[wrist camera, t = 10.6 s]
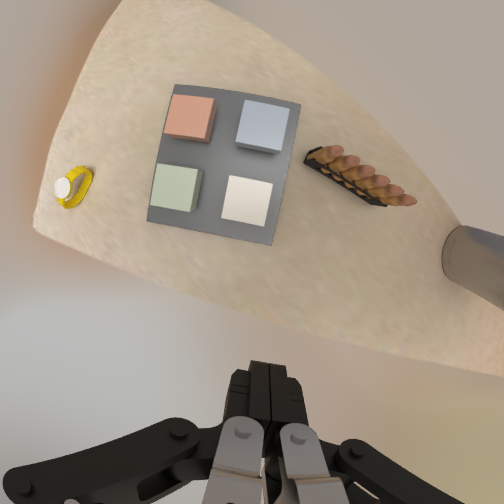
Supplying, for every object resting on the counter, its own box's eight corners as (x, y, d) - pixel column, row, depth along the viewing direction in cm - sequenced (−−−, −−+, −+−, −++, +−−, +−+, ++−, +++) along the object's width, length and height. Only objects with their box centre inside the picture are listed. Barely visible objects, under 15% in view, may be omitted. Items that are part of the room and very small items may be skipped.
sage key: (203, 171, 32) (197, 169, 29) (195, 209, 33) (189, 212, 30) (166, 165, 32) (157, 163, 28) (159, 202, 33) (150, 204, 29)
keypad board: (299, 107, 32) (305, 98, 28) (270, 243, 36) (273, 250, 32) (177, 87, 31) (169, 77, 28) (149, 220, 35) (138, 224, 32)
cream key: (270, 184, 32) (273, 183, 29) (262, 222, 33) (264, 226, 30) (231, 176, 32) (229, 175, 29) (224, 214, 33) (220, 217, 30)
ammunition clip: (302, 162, 34) (327, 152, 22) (309, 150, 34) (337, 134, 22) (371, 204, 35) (419, 215, 23) (377, 193, 35) (426, 198, 23)
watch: (88, 164, 34) (66, 160, 28) (101, 174, 34) (80, 170, 28) (69, 200, 35) (46, 201, 29) (81, 210, 35) (59, 212, 29)
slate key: (285, 116, 29) (289, 108, 26) (277, 154, 30) (281, 150, 27) (245, 108, 29) (244, 99, 26) (237, 146, 30) (235, 141, 27)
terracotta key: (217, 106, 30) (213, 98, 27) (209, 143, 31) (204, 138, 28) (180, 102, 30) (173, 94, 27) (172, 137, 31) (163, 133, 28)
